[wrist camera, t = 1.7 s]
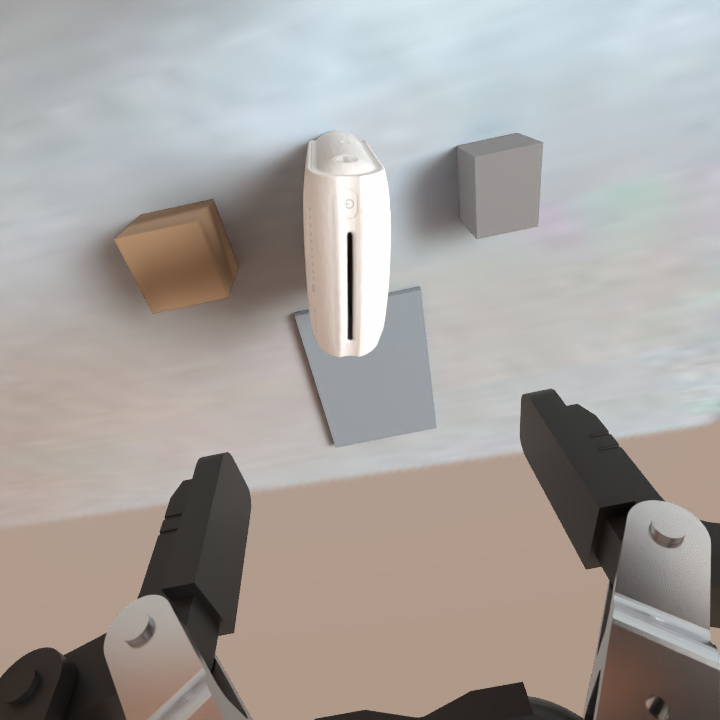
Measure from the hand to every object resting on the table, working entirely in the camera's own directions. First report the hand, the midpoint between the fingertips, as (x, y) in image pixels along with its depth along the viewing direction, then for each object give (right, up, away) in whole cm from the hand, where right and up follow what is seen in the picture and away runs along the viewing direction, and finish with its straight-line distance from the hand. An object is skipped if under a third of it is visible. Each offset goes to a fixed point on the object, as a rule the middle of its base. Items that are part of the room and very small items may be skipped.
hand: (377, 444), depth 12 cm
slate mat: (+1, +1, +27) cm, 27 cm away
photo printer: (-2, +13, +19) cm, 23 cm away
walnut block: (-12, +11, +19) cm, 25 cm away
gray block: (+8, +15, +18) cm, 25 cm away
